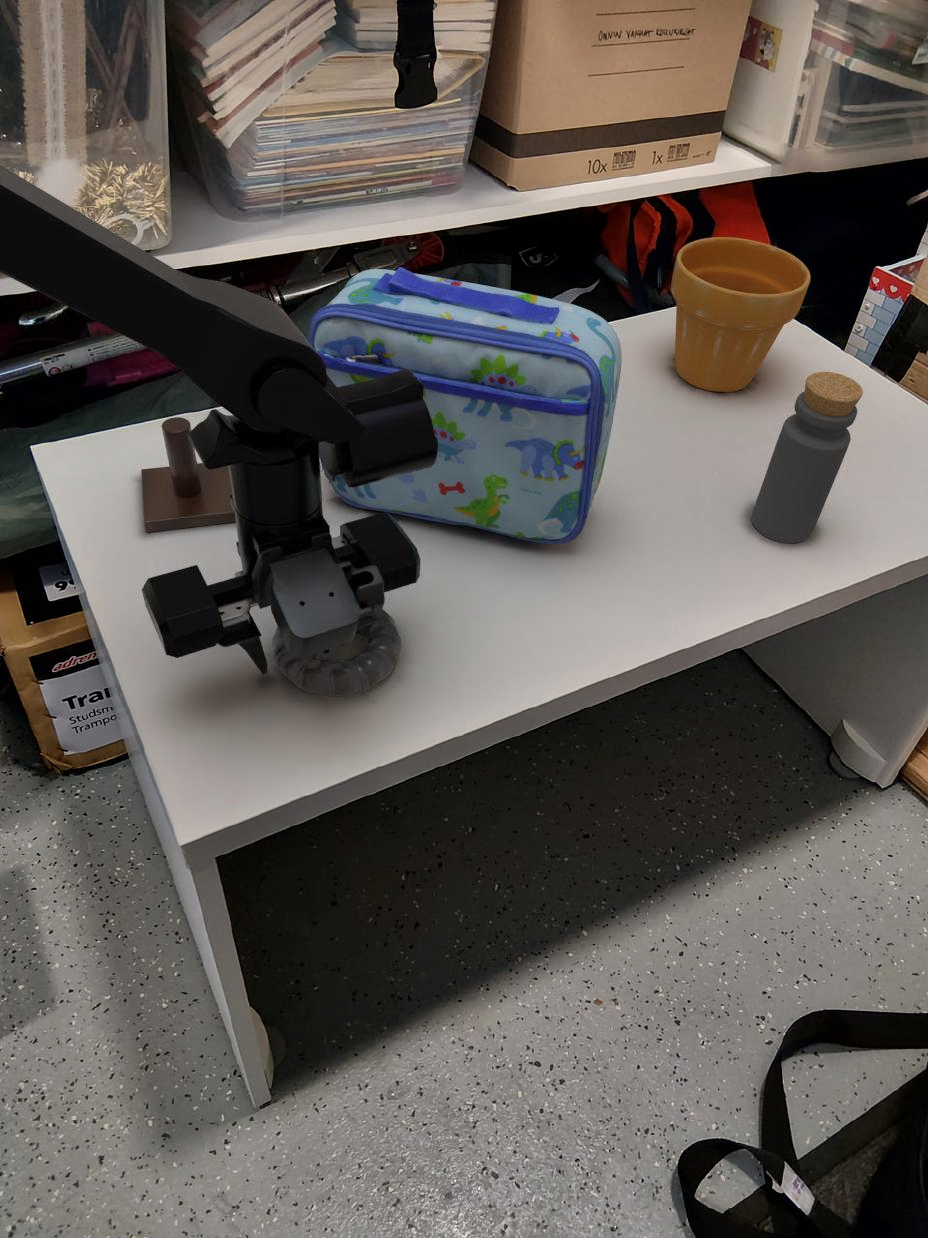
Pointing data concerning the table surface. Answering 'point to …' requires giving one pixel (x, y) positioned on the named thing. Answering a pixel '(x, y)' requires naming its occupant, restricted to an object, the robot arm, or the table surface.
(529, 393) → the lunch box
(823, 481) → the bottle
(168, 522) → the peg stand
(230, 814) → the table surface
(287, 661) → the ring
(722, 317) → the flower pot
